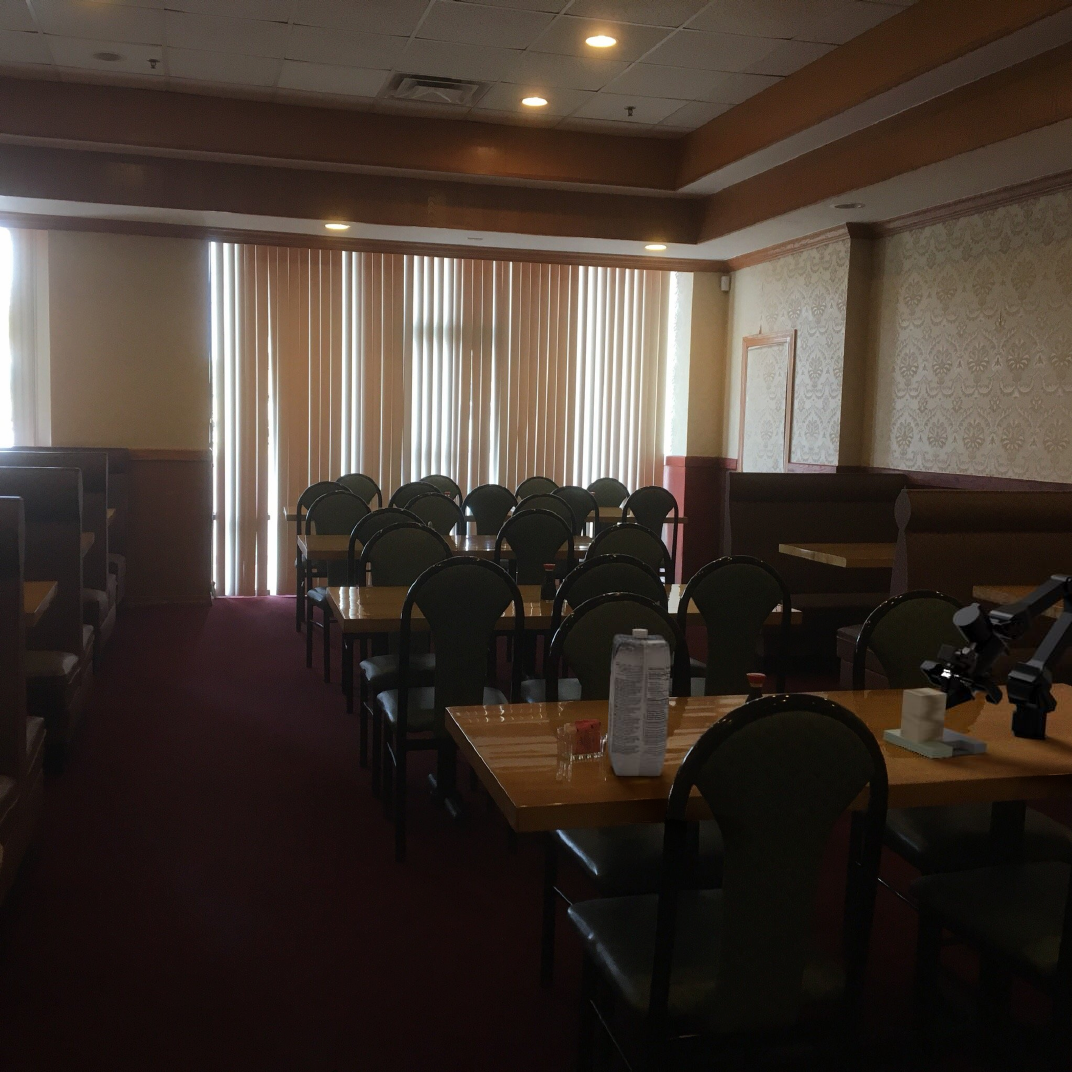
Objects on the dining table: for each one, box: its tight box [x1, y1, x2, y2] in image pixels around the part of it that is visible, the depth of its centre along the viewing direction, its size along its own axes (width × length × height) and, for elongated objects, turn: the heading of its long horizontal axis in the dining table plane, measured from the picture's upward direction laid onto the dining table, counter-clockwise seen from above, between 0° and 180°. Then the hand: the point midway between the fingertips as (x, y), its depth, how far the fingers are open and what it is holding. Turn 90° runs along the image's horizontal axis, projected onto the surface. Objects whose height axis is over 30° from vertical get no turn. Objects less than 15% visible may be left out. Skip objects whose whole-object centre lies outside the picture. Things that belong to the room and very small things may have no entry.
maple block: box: [900, 687, 947, 743], centre depth 229 cm, size 7×5×10 cm
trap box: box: [882, 727, 988, 759], centre depth 231 cm, size 15×14×2 cm
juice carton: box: [607, 628, 671, 777], centre depth 206 cm, size 9×10×27 cm
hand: (937, 711), depth 230 cm, fingers closed
